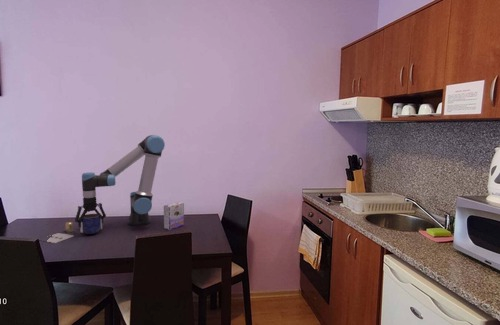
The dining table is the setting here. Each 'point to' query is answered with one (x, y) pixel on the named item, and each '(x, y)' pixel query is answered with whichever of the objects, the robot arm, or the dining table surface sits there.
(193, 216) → the dining table surface
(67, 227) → the brass tin
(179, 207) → the candy box
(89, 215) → the planter
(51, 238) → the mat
